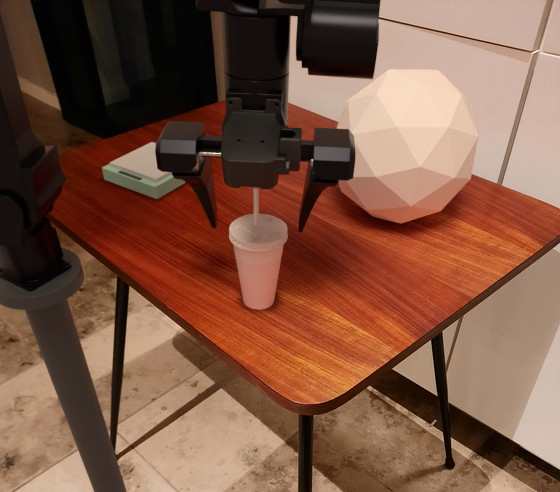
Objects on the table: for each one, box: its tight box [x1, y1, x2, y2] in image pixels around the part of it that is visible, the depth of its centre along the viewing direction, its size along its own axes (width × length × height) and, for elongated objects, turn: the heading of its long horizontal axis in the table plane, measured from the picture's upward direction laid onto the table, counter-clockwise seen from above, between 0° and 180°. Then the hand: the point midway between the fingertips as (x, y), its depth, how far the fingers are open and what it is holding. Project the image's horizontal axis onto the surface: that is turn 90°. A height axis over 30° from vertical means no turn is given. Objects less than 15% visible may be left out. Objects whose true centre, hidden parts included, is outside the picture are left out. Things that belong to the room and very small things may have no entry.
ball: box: [335, 68, 479, 224], centre depth 76 cm, size 19×20×20 cm
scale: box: [101, 141, 187, 200], centre depth 88 cm, size 11×11×3 cm
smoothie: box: [228, 187, 289, 311], centre depth 62 cm, size 6×6×14 cm
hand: (257, 228), depth 60 cm, fingers open, 9 cm apart
